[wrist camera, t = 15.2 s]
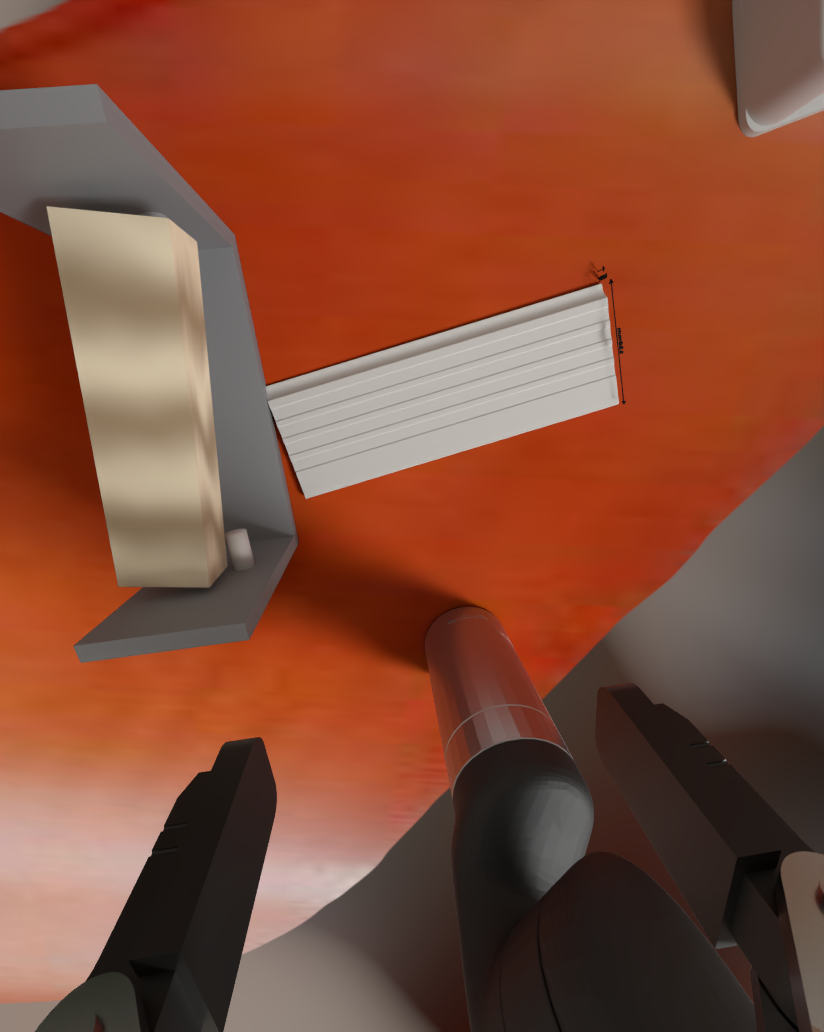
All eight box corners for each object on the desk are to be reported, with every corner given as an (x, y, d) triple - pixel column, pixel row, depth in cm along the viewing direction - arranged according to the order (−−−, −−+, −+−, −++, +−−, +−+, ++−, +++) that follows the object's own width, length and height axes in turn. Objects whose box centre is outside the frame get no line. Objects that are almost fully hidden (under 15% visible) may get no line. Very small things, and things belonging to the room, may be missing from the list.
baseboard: (259, 369, 35) (308, 494, 38) (249, 368, 32) (303, 502, 36) (595, 266, 34) (610, 403, 38) (613, 256, 32) (628, 404, 35)
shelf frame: (298, 543, 39) (249, 639, 24) (197, 555, 39) (80, 662, 23) (234, 234, 31) (96, 84, 16) (104, 246, 30) (-169, 101, 15)
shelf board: (227, 566, 31) (209, 587, 27) (146, 564, 30) (118, 586, 27) (197, 241, 24) (168, 218, 21) (92, 232, 24) (46, 206, 20)
